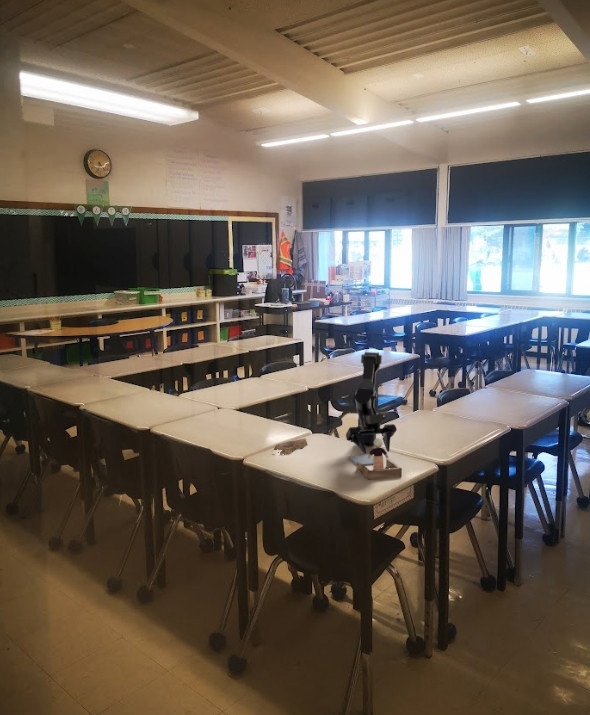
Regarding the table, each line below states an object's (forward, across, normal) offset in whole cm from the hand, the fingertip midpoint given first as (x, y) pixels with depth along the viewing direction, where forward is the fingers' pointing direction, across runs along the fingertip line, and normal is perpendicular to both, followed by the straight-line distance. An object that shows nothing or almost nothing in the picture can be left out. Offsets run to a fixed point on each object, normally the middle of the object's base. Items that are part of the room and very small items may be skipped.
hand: (377, 452), depth 221 cm
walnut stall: (+6, 0, +4) cm, 7 cm away
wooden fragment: (-20, -23, +31) cm, 44 cm away
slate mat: (-3, 0, +13) cm, 14 cm away
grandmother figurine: (+6, 0, +5) cm, 8 cm away
